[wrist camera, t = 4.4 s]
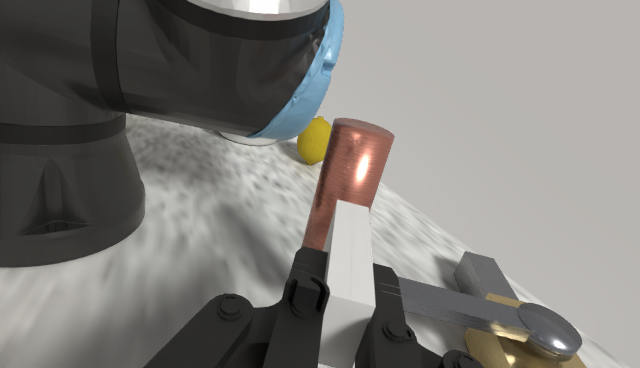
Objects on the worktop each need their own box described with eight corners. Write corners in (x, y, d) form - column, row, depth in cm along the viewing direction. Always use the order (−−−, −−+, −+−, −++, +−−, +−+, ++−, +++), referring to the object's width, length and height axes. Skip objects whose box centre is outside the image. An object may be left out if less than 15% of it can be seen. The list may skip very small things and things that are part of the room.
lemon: (332, 168, 58) (345, 121, 54) (311, 174, 53) (324, 123, 50) (307, 156, 60) (318, 110, 57) (285, 160, 56) (295, 111, 53)
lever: (289, 291, 23) (331, 128, 19) (298, 256, 27) (335, 113, 22) (585, 368, 23) (696, 223, 19) (554, 322, 27) (640, 192, 22)
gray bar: (557, 604, 15) (610, 559, 14) (440, 270, 38) (455, 238, 36) (691, 638, 15) (758, 598, 14) (495, 284, 38) (512, 253, 36)
